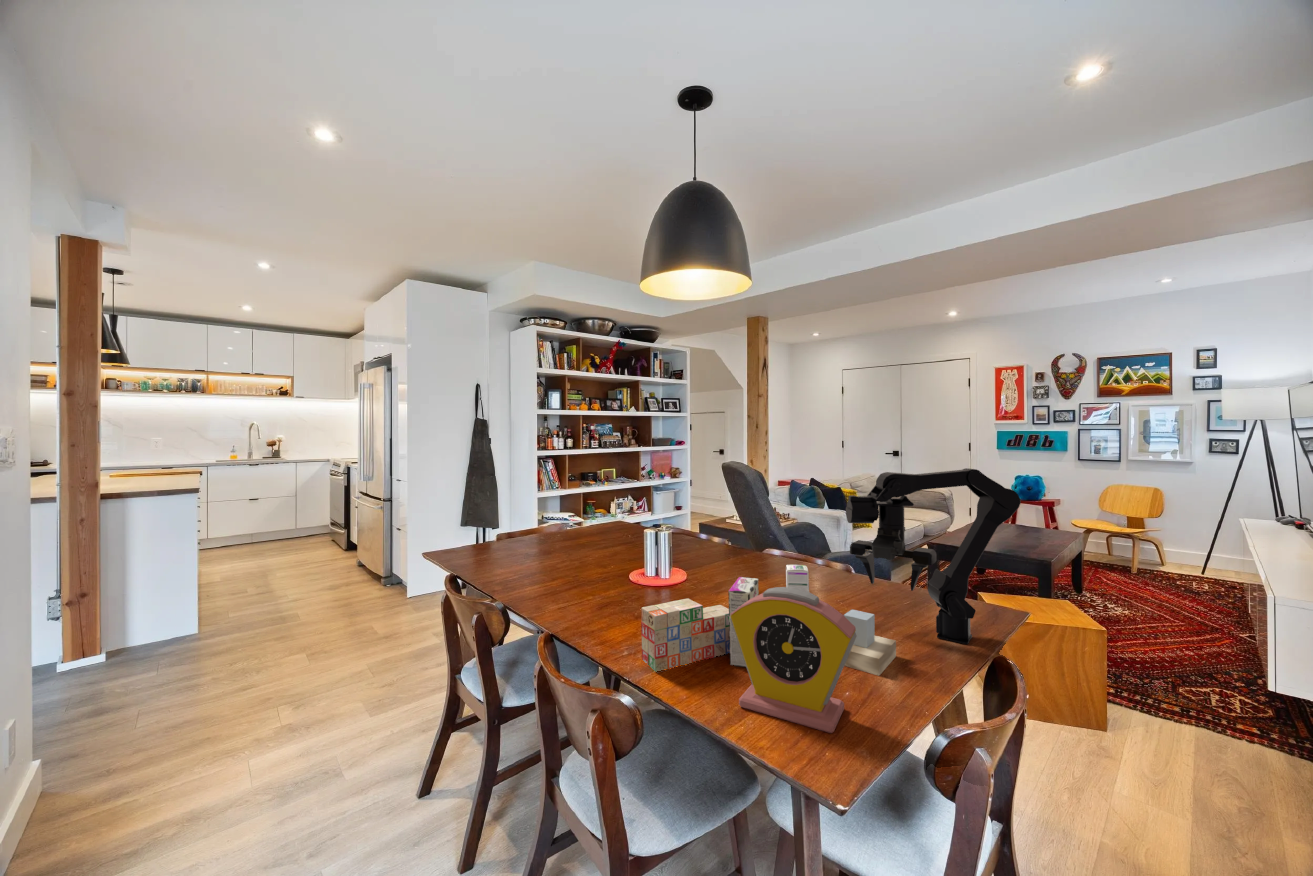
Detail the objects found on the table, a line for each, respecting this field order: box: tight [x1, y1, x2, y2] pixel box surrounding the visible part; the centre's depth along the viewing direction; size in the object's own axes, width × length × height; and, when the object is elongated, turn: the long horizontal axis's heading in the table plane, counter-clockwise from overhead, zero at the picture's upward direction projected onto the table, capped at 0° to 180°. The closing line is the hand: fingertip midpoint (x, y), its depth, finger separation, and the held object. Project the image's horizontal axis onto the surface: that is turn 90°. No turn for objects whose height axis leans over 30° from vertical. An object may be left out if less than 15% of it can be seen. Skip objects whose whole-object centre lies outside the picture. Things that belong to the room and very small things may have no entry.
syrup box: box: [785, 564, 810, 592], centre depth 134 cm, size 6×6×14 cm
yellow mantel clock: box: [730, 586, 857, 734], centre depth 91 cm, size 22×9×22 cm, turn 58°
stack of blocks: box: [640, 597, 730, 673], centre depth 113 cm, size 21×6×12 cm, turn 118°
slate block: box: [843, 609, 876, 648], centre depth 112 cm, size 5×5×6 cm
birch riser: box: [844, 635, 897, 677], centre depth 112 cm, size 12×12×4 cm
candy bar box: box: [728, 576, 760, 668], centre depth 113 cm, size 11×5×16 cm, turn 159°
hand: (892, 586), depth 124 cm, fingers open, 9 cm apart
